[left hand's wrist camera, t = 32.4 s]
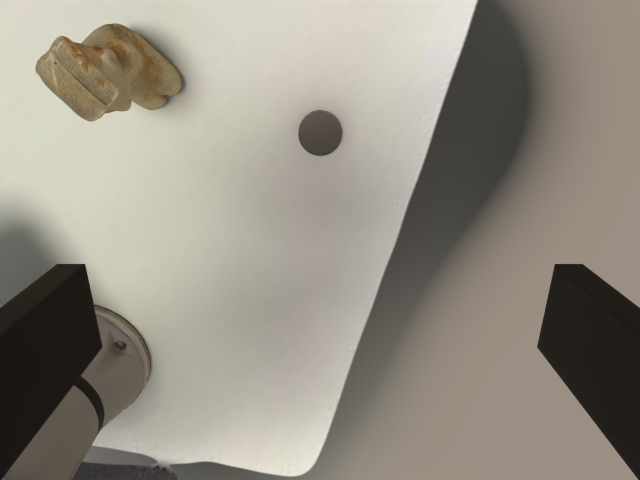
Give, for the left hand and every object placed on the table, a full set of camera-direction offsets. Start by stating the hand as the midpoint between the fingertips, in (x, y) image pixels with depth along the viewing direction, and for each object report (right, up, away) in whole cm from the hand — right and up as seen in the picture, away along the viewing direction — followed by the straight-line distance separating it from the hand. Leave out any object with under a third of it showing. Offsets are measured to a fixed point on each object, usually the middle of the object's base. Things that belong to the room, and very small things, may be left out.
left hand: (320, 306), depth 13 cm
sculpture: (-16, +18, +30) cm, 39 cm away
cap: (0, +12, +31) cm, 33 cm away
